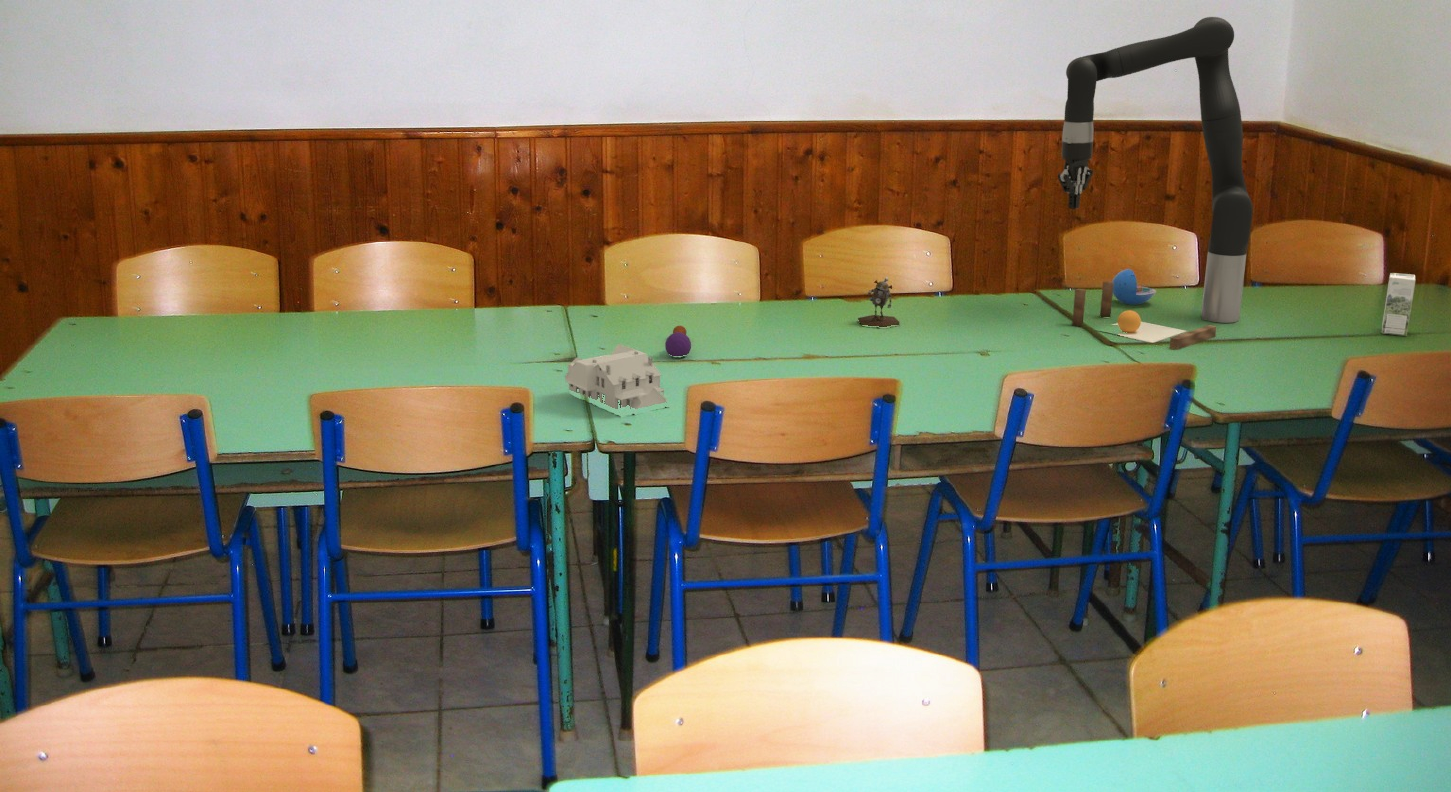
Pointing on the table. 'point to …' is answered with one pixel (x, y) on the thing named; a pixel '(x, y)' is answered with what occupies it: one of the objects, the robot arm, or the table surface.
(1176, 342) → the wall
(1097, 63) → the robot arm
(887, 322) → the robot figurine
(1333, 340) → the table surface
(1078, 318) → the post near
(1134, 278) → the cell model
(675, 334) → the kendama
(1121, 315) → the ball
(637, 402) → the house model
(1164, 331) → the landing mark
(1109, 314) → the post far
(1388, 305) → the syrup box
